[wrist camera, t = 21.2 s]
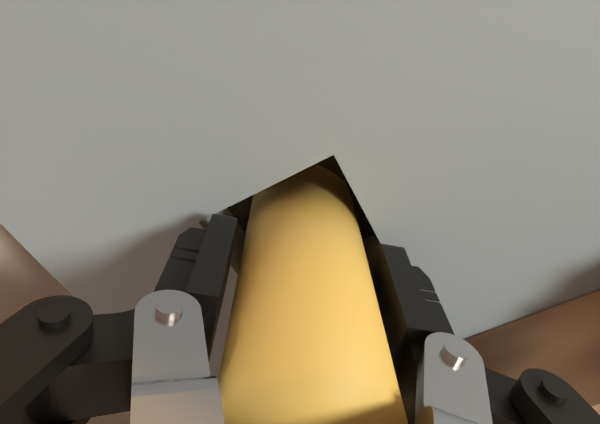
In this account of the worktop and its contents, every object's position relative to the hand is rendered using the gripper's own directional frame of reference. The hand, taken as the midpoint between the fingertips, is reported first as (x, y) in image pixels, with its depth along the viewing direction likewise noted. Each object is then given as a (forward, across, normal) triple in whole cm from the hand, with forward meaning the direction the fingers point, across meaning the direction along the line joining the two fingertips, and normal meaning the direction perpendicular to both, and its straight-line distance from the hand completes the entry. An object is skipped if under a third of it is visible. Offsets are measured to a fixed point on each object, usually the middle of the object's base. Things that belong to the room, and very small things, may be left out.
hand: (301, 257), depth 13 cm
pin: (+3, 0, 0) cm, 3 cm away
